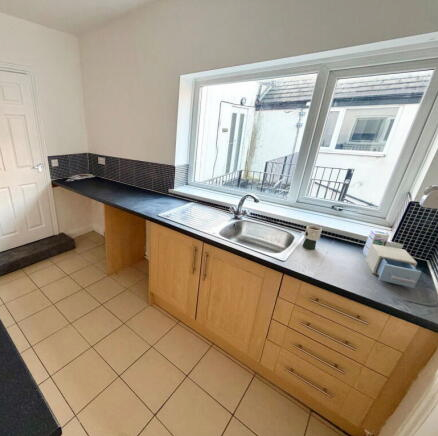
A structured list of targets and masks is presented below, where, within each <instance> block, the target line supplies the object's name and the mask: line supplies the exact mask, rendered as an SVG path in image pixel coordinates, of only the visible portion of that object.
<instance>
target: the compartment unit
mask: <svg viewBox="0 0 438 436" xmlns="http://www.w3.org/2000/svg"><path fill="white" fill-rule="evenodd" d="M381 258H386V259H391V260H396V261H401V262H406V263H411V264H412V265H413V266H414V267H415V268H416V267H417V265H418V262H417V261H416V260H415V259H414V257H413V256H412V255H411V254H410V253H409V252H408V251H407V250H406V249H403V248H397V247H392V246H387V245H385V246H382V245H376V244H371V246H370V249H369V252H368V254H367V257H366V256H365V261H366V264H367V265H368V268H369V271H370V273H372V274H373V275H377V276H379V275H378V273H377V271H376V269H377V267H378V264H379V262H380V259H381Z"/></svg>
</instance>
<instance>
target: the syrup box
mask: <svg viewBox="0 0 438 436" xmlns="http://www.w3.org/2000/svg"><path fill="white" fill-rule="evenodd" d="M389 238H390V234H389V233H388V232H386V231H385V230H377V229H370V230H369V233H368V236H367V239H366V241H365V244H364V246H363V249H362V253H363V255H364V256H365V258H366V257H367V254H368V252H369V249H370V246H371V244H376V245H382V246H387V245H386V244H387V242H388V240H389Z"/></svg>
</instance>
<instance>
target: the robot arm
mask: <svg viewBox="0 0 438 436" xmlns="http://www.w3.org/2000/svg"><path fill="white" fill-rule="evenodd" d="M419 206H420V207H422V208H425V209H426V208H427V209H433V210H438V185H435V184H434V185H430V186H428V187H425V189H424V192H423V196H422V197H421V199H420V201H419Z"/></svg>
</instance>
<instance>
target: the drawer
mask: <svg viewBox="0 0 438 436" xmlns="http://www.w3.org/2000/svg"><path fill="white" fill-rule="evenodd" d="M376 271H377V273H378V275H377V276H378V278H377V279H378V281H382V282H386V283H390V284H395V285H398V286H399V285H400V286H402V287H408V288H412V289H414V288H415V287H416V285H417V283H418V281H419V278H420V277H421V274H422V271H421V270H417V268H416V267H414V266H413V265H412V264H411V263H406V262H401V261H396V260H391V259H386V258H381V259H380V262H379V264H378V267H377V269H376Z"/></svg>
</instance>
